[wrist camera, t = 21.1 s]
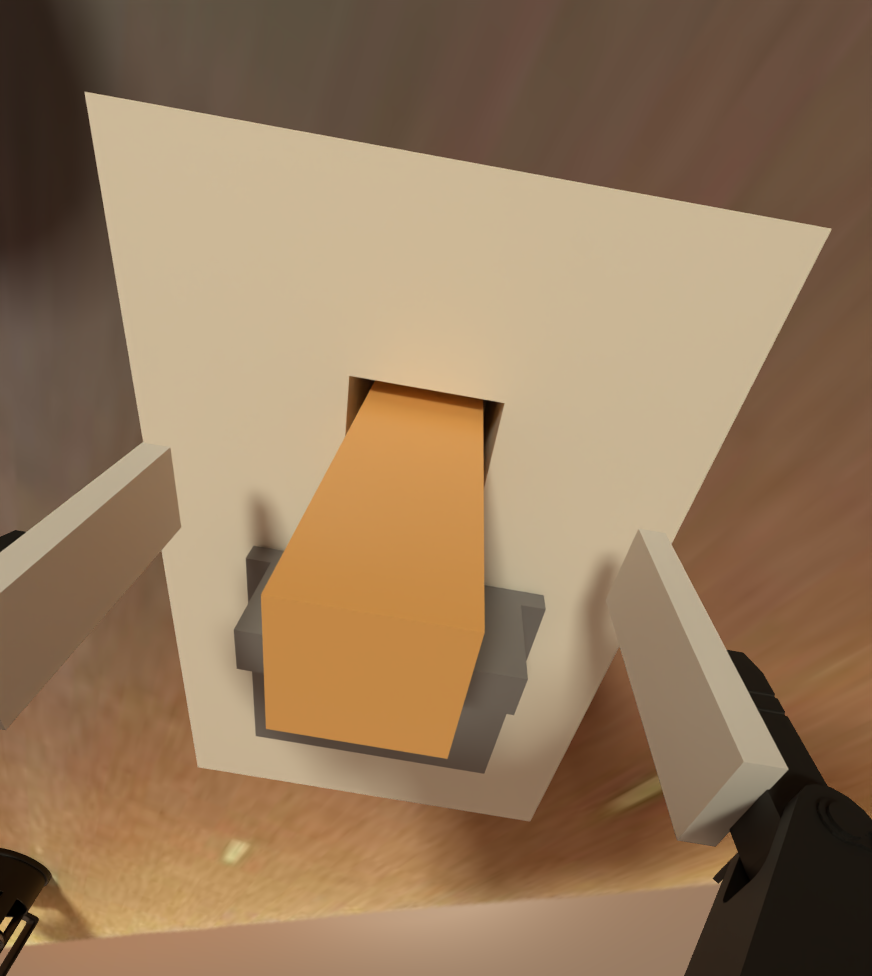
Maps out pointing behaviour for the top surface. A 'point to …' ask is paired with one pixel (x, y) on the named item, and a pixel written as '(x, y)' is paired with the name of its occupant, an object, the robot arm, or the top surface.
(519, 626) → the shutter
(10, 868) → the french press
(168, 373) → the socket block
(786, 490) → the top surface
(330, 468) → the plug peg
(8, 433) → the top surface
